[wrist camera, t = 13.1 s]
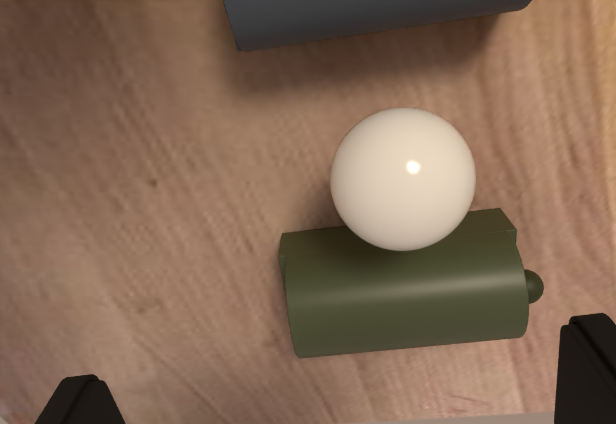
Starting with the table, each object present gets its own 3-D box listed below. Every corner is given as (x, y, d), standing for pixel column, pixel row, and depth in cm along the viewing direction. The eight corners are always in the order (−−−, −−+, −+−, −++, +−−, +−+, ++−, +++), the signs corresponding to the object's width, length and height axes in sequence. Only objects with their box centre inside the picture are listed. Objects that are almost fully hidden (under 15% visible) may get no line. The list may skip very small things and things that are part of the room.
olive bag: (281, 233, 32) (272, 291, 26) (519, 205, 31) (566, 259, 25) (297, 314, 35) (291, 383, 29) (516, 291, 34) (557, 359, 28)
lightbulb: (457, 138, 29) (526, 222, 19) (370, 199, 31) (392, 304, 21) (395, 51, 27) (437, 94, 17) (306, 122, 29) (297, 197, 19)
